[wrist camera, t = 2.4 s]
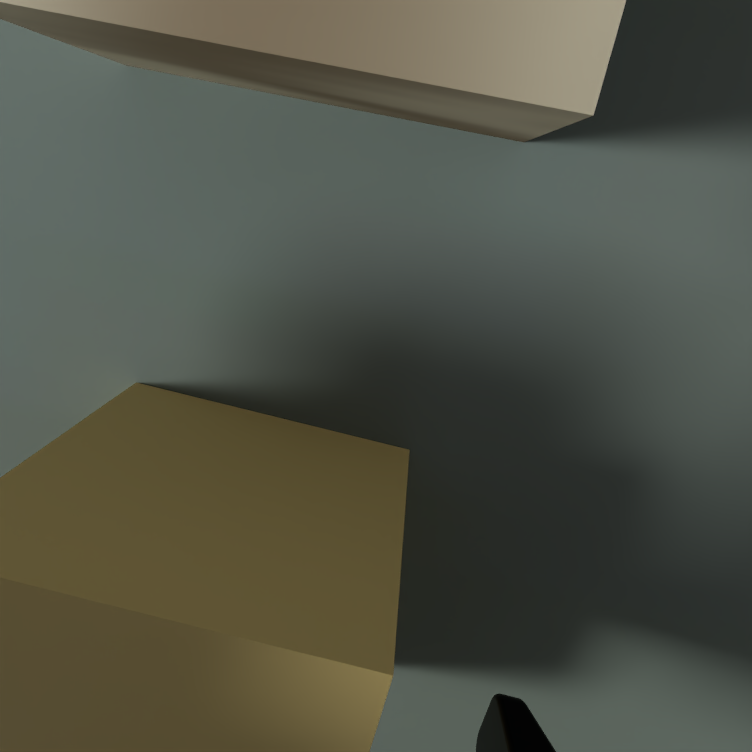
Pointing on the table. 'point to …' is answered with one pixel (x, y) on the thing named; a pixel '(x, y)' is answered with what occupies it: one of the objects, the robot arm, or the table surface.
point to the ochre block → (198, 583)
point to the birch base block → (365, 52)
